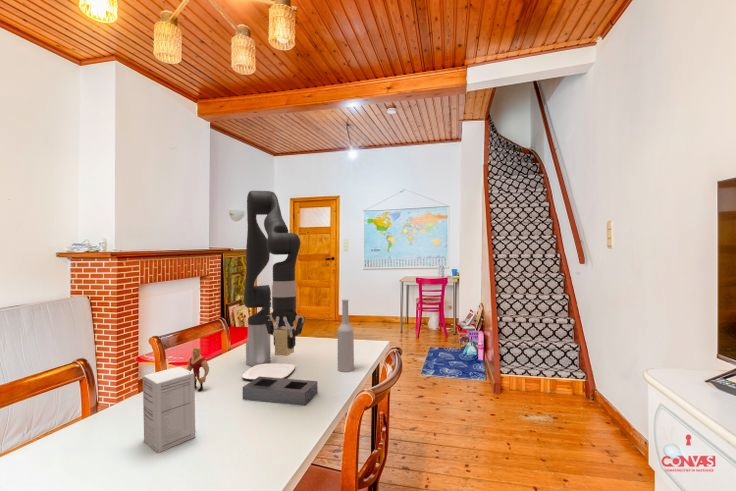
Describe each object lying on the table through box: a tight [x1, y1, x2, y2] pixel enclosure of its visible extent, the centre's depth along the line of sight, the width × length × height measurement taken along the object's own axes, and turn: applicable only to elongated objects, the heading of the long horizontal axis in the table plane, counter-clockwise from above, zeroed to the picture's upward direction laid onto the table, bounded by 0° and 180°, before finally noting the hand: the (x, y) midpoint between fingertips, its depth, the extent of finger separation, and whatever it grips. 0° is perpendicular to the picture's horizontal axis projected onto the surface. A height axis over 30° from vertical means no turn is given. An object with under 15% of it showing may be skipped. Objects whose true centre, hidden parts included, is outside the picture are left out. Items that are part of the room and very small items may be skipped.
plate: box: [241, 362, 296, 381], centre depth 140 cm, size 18×18×2 cm
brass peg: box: [274, 326, 295, 357], centre depth 115 cm, size 4×4×8 cm
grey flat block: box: [241, 376, 319, 407], centre depth 118 cm, size 22×10×4 cm, turn 76°
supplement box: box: [142, 366, 196, 453], centre depth 92 cm, size 10×9×17 cm
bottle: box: [337, 299, 355, 373], centre depth 144 cm, size 7×7×28 cm
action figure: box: [186, 346, 210, 392], centre depth 125 cm, size 10×4×15 cm, turn 70°
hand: (284, 347), depth 115 cm, fingers closed on brass peg, 4 cm apart
